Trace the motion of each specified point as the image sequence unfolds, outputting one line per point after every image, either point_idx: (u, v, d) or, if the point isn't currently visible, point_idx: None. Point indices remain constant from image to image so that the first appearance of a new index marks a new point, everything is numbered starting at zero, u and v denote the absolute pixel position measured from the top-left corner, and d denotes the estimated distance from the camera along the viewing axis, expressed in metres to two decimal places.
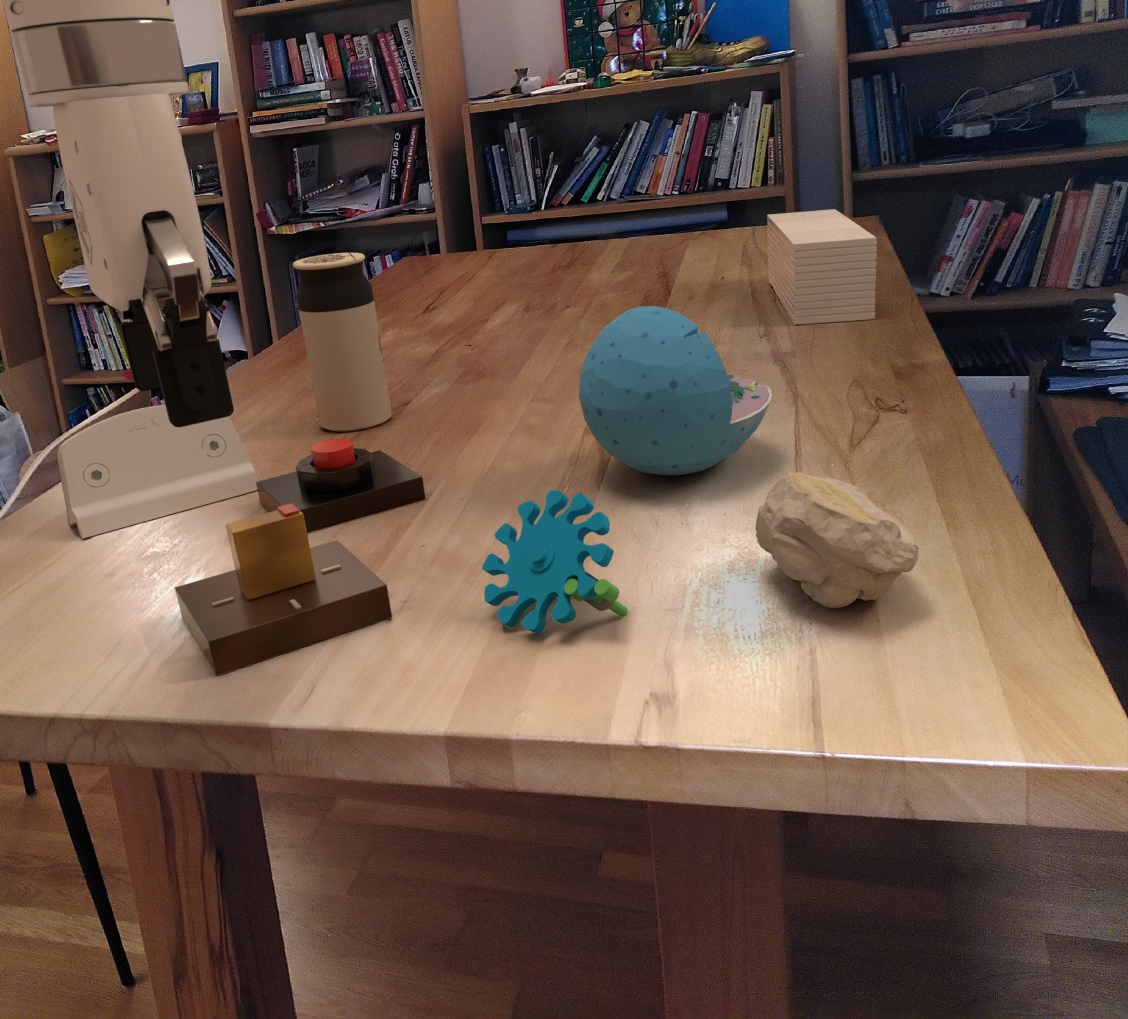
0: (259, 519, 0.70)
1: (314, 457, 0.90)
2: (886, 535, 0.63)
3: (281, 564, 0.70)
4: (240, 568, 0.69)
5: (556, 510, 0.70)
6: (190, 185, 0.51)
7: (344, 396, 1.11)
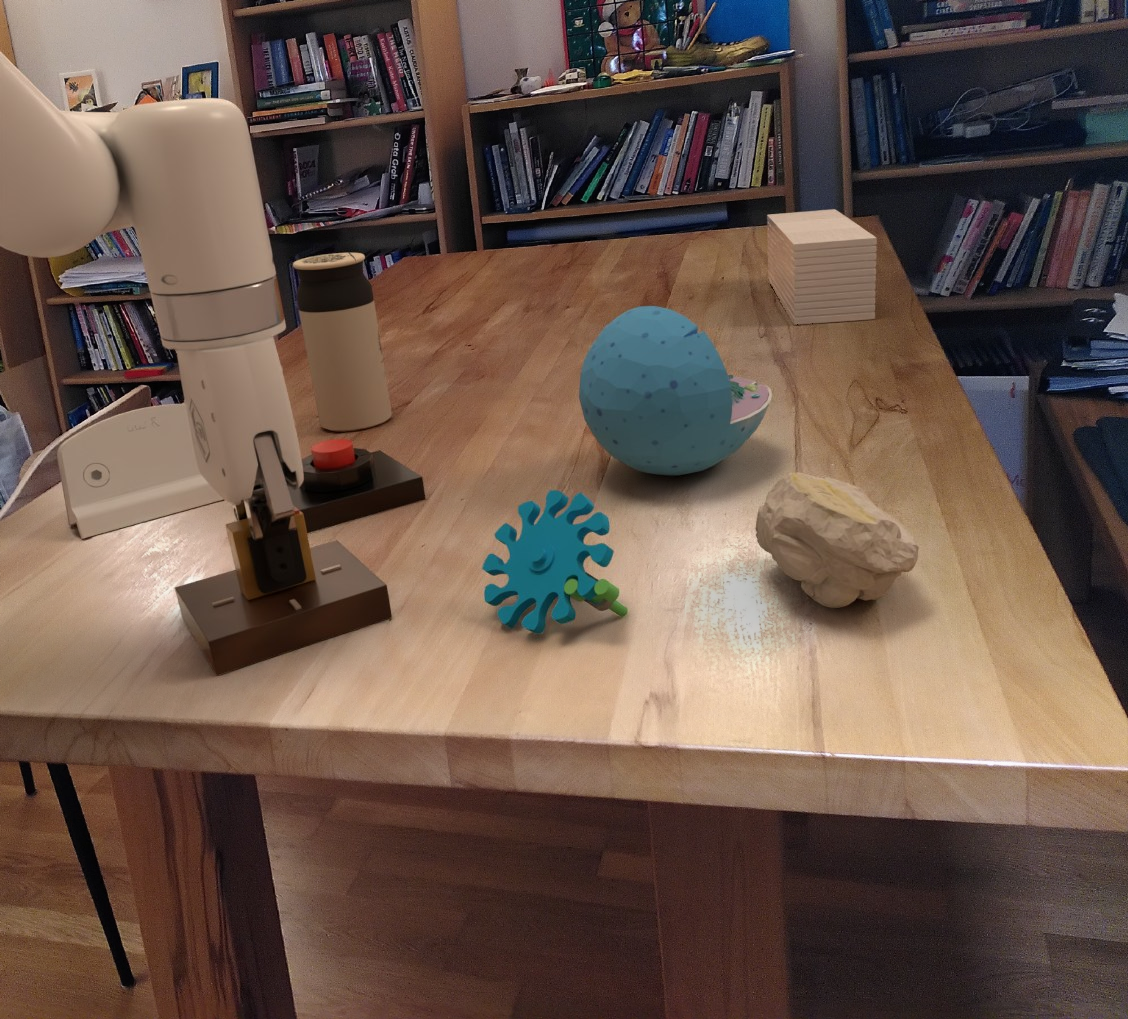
0: None
1: (314, 457, 0.90)
2: (886, 535, 0.63)
3: None
4: (240, 568, 0.69)
5: (556, 510, 0.70)
6: (290, 408, 0.64)
7: (344, 396, 1.11)
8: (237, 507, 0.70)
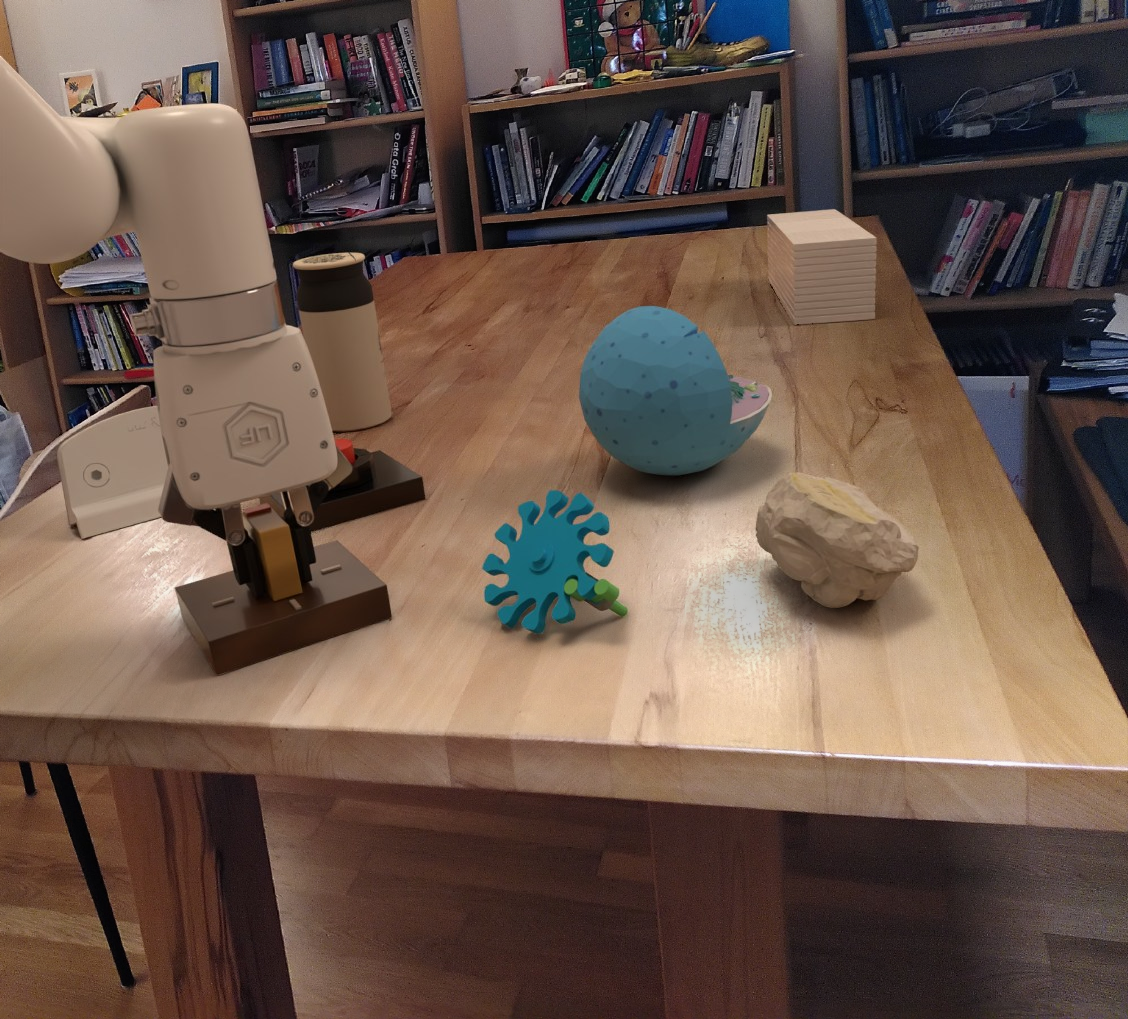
0: (265, 519, 0.70)
1: None
2: (886, 535, 0.63)
3: None
4: (294, 562, 0.69)
5: (556, 510, 0.70)
6: None
7: (344, 396, 1.11)
8: (243, 525, 0.68)
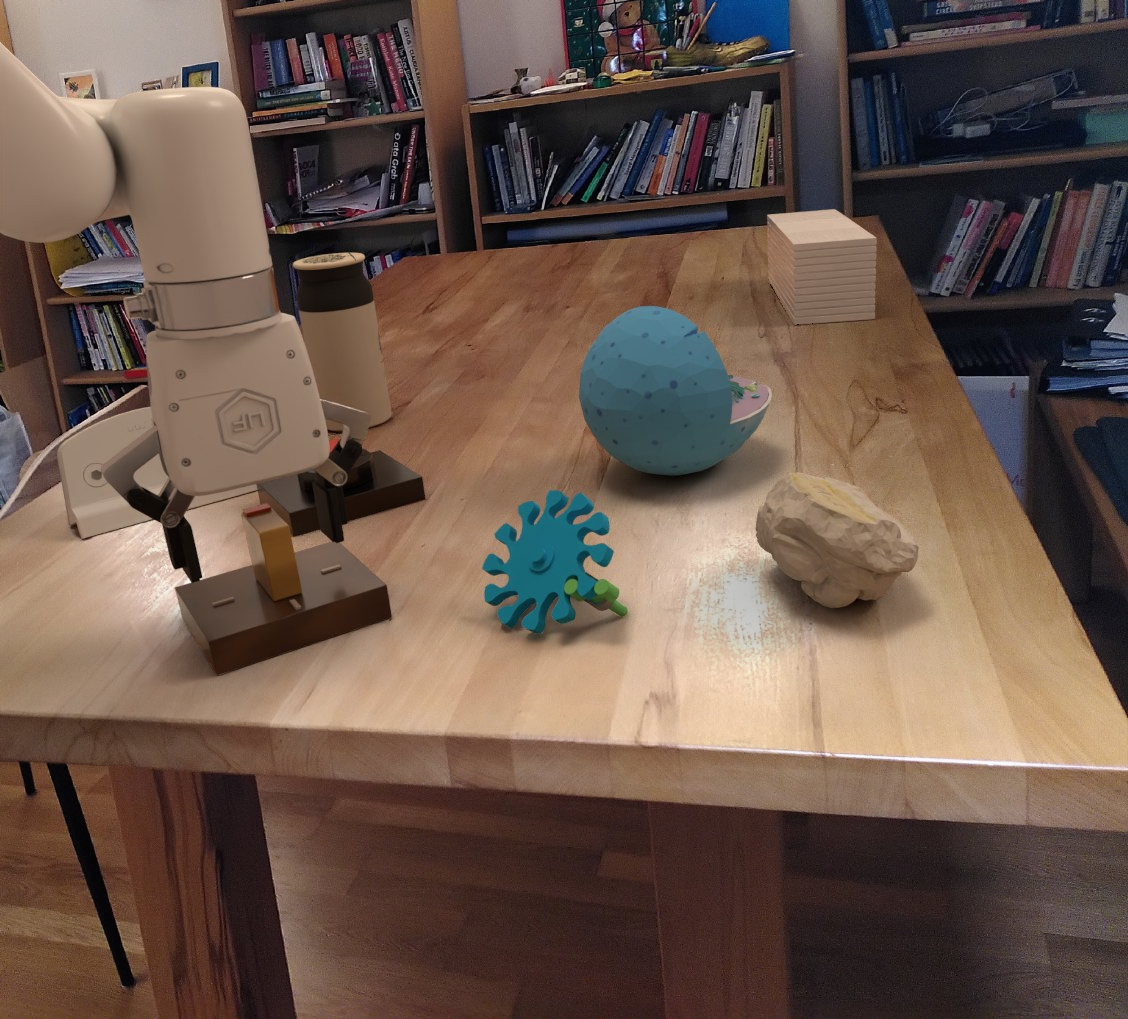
0: (265, 519, 0.70)
1: None
2: (886, 535, 0.63)
3: None
4: (294, 562, 0.69)
5: (556, 510, 0.70)
6: None
7: (344, 396, 1.11)
8: (184, 513, 0.66)
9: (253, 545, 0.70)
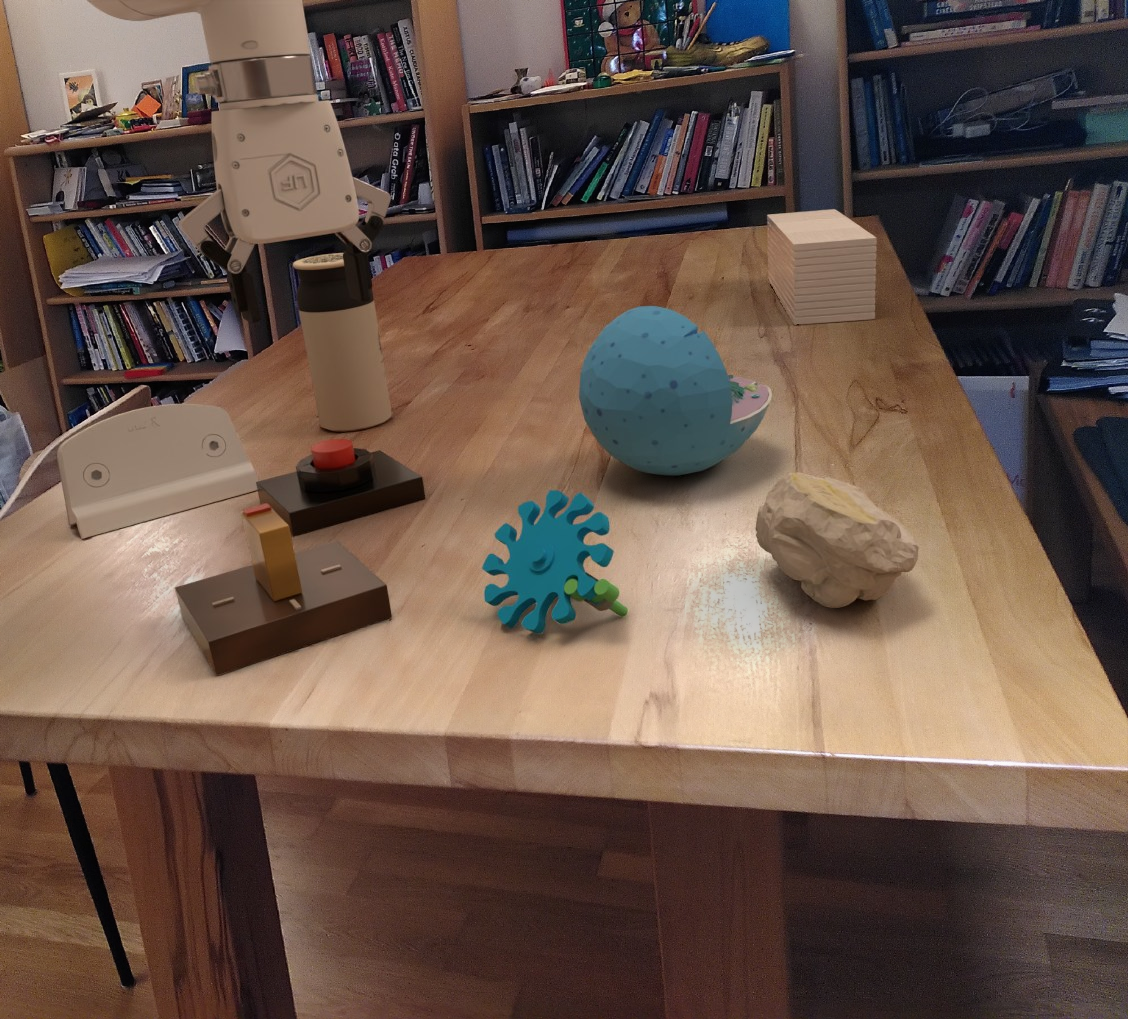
0: (265, 519, 0.70)
1: (314, 457, 0.90)
2: (886, 535, 0.63)
3: None
4: (294, 562, 0.69)
5: (556, 510, 0.70)
6: None
7: (344, 396, 1.11)
8: (246, 261, 0.82)
9: (253, 545, 0.70)
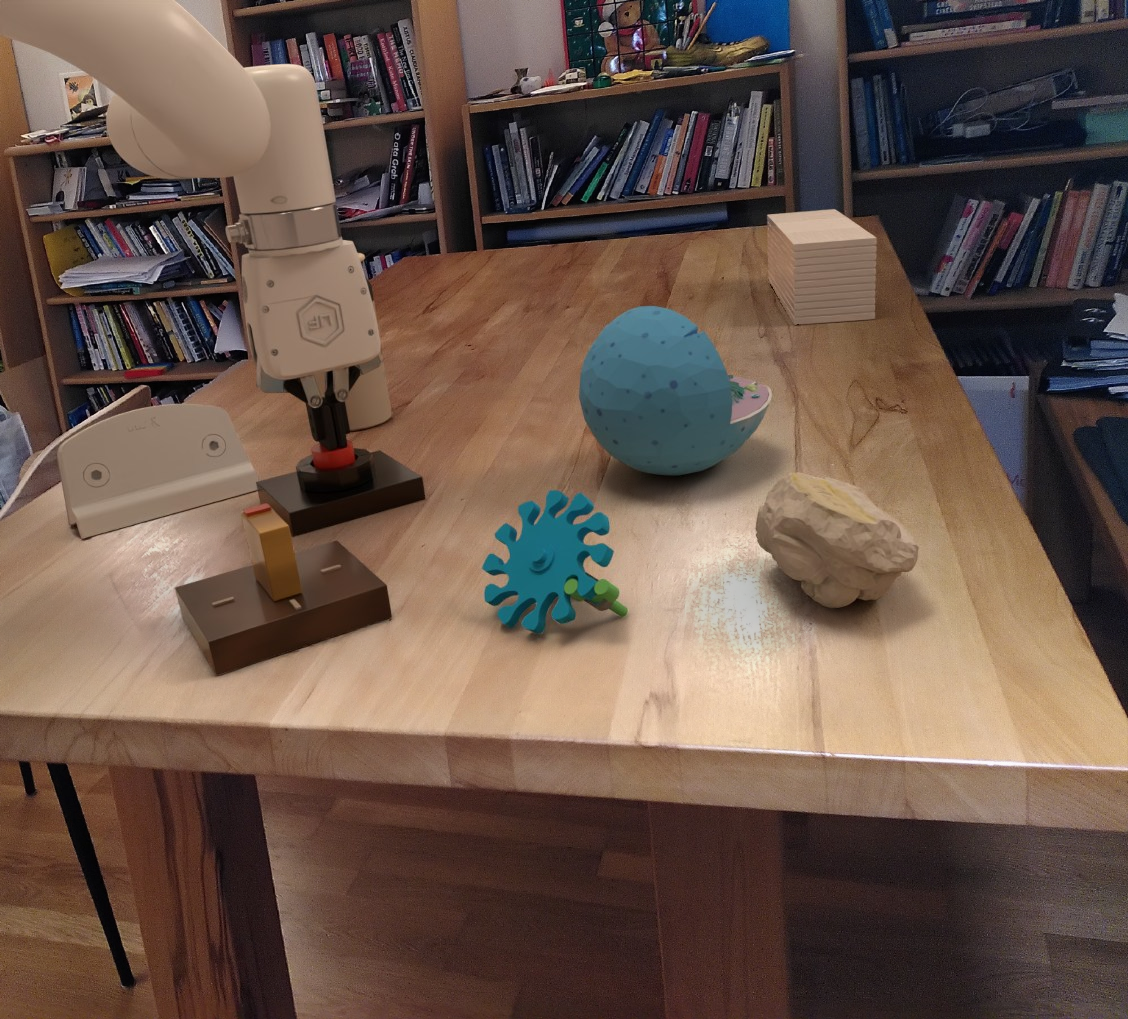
0: (265, 519, 0.70)
1: (314, 457, 0.90)
2: (886, 535, 0.63)
3: None
4: (294, 562, 0.69)
5: (556, 510, 0.70)
6: None
7: None
8: None
9: (253, 545, 0.70)
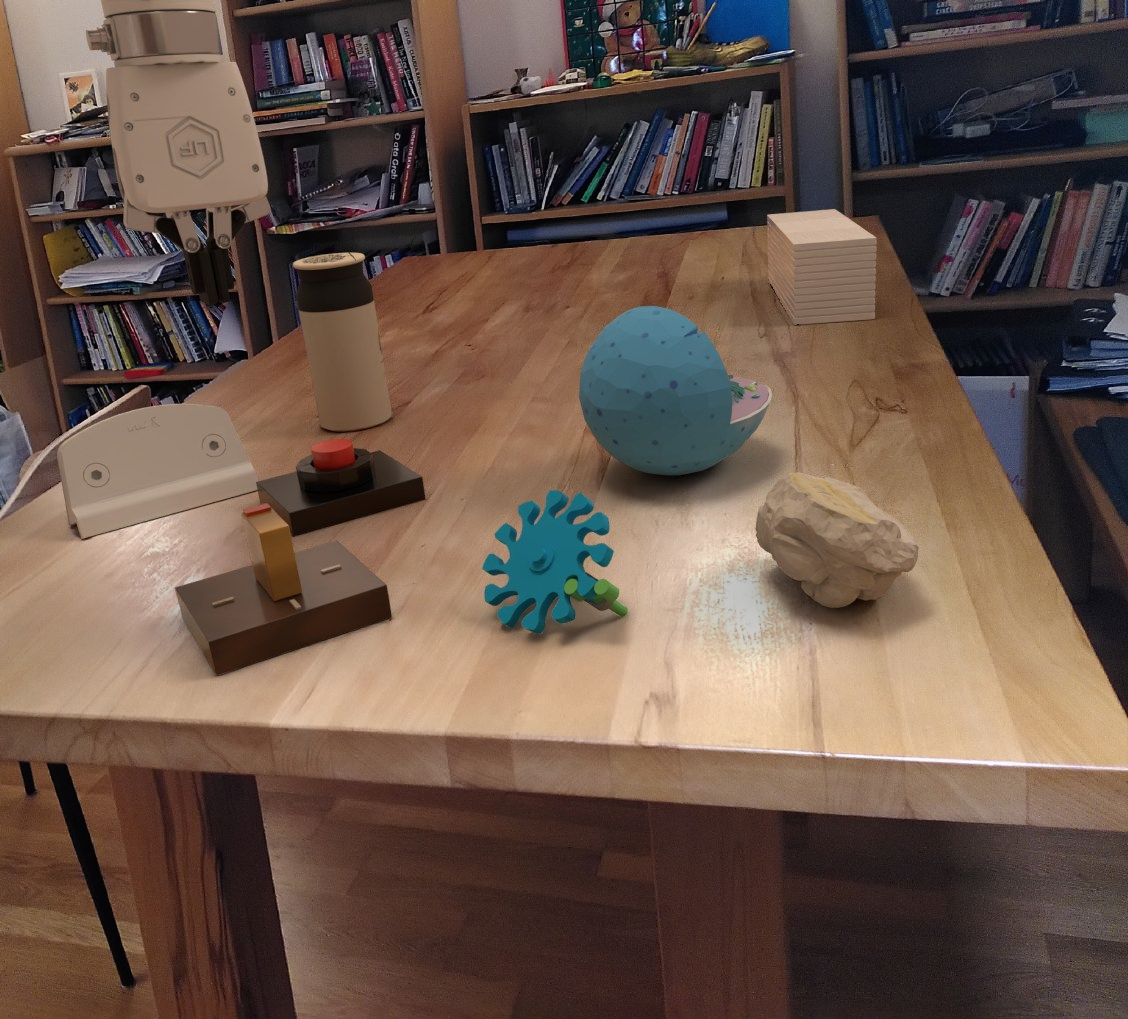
0: (265, 519, 0.70)
1: (314, 457, 0.90)
2: (886, 535, 0.63)
3: None
4: (294, 562, 0.69)
5: (556, 510, 0.70)
6: None
7: (344, 396, 1.11)
8: (196, 233, 0.78)
9: (253, 545, 0.70)
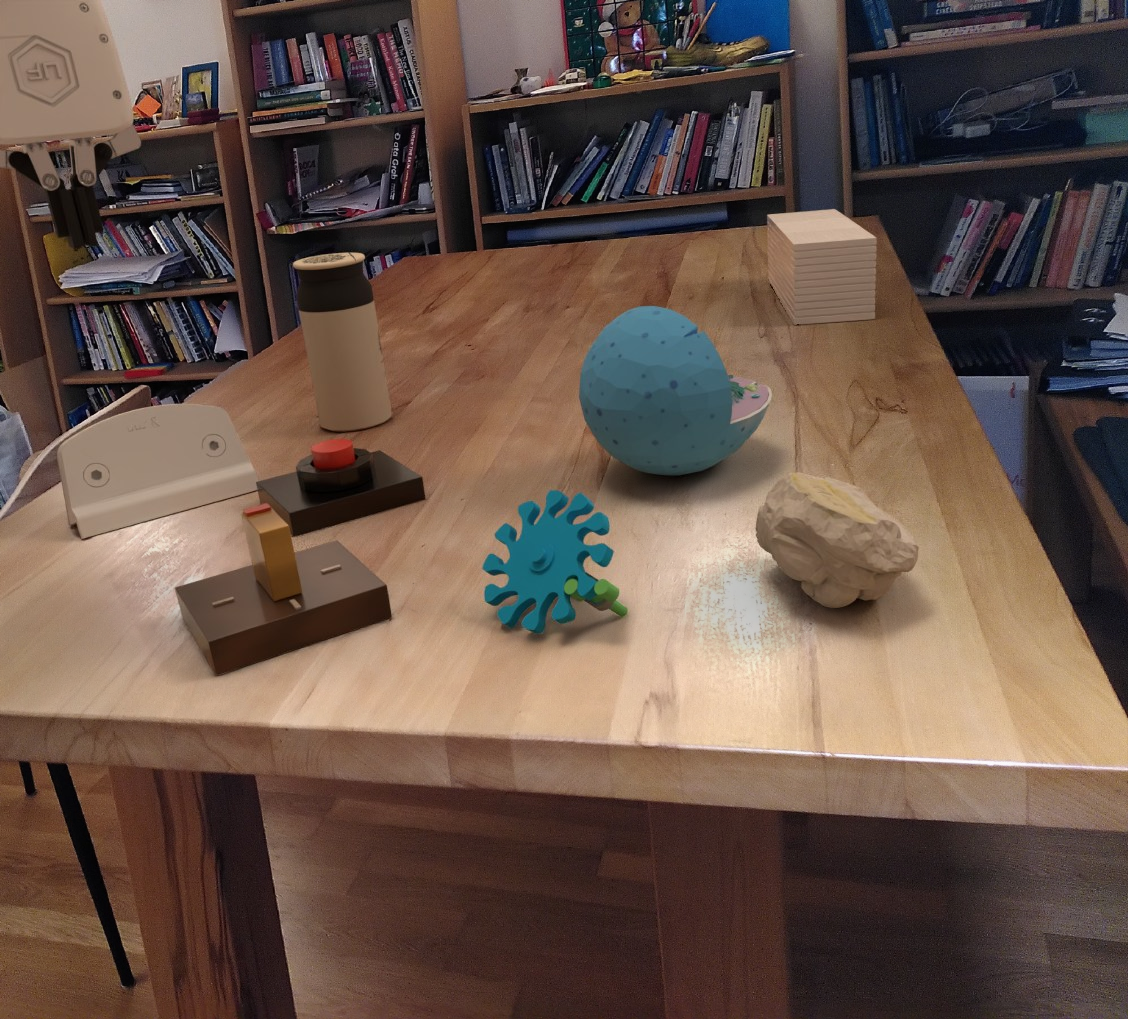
0: (265, 519, 0.70)
1: (314, 457, 0.90)
2: (886, 535, 0.63)
3: None
4: (294, 562, 0.69)
5: (556, 510, 0.70)
6: None
7: (344, 396, 1.11)
8: (54, 168, 0.71)
9: (253, 545, 0.70)
